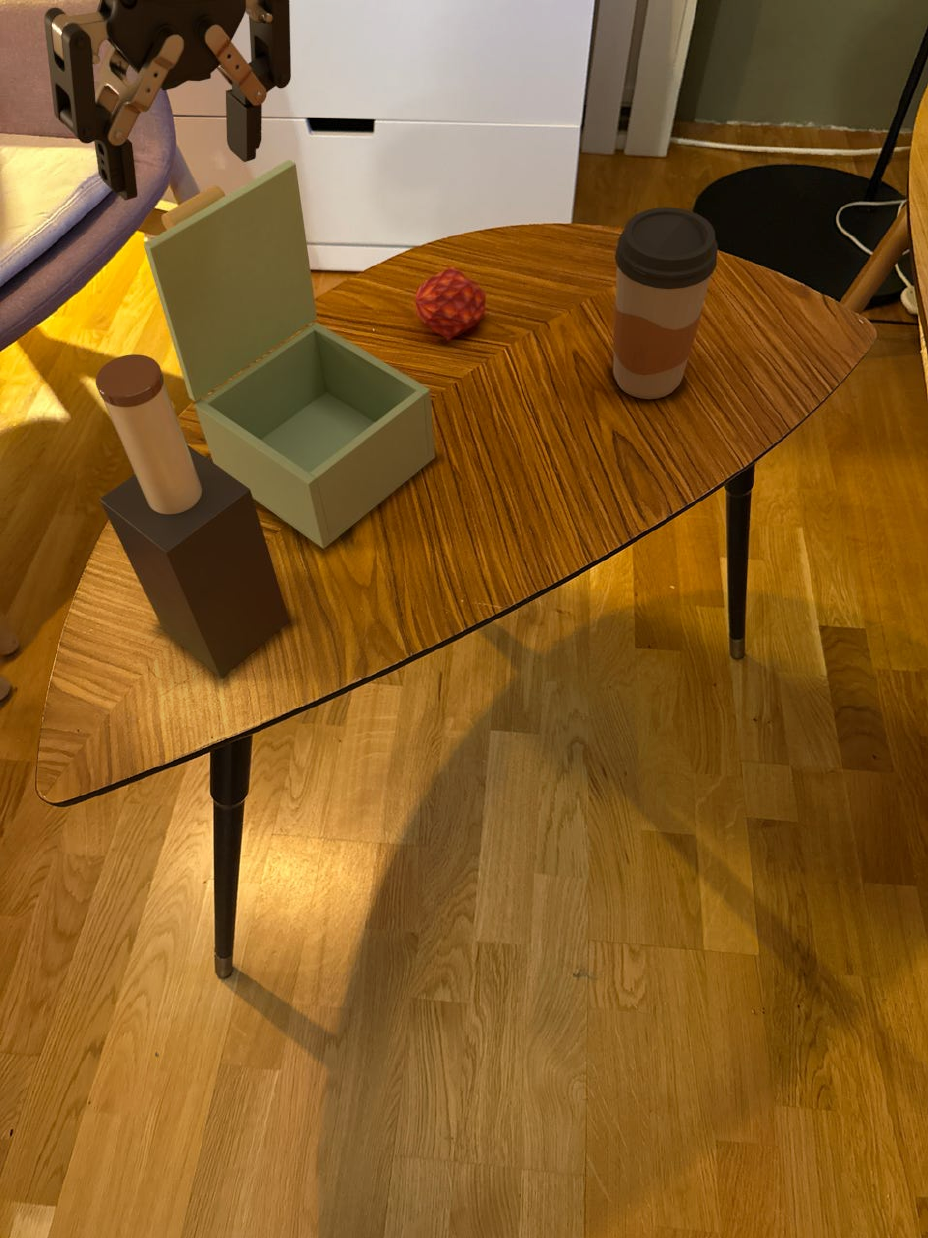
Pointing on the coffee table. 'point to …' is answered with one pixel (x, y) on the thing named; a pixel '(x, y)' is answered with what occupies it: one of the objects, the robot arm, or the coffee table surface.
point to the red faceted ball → (450, 303)
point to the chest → (319, 431)
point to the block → (203, 566)
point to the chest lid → (233, 276)
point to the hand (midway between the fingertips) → (183, 172)
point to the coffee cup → (659, 297)
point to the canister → (150, 432)
